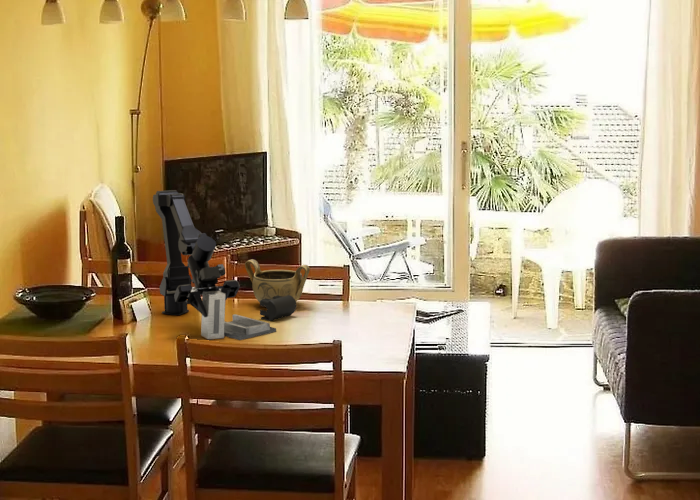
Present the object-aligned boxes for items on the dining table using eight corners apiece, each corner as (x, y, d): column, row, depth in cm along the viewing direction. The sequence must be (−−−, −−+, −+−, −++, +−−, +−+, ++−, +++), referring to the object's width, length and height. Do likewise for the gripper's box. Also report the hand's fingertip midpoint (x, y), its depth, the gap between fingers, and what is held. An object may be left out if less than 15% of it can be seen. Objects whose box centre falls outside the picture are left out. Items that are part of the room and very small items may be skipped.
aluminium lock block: (200, 335, 297) (202, 291, 296) (216, 334, 300) (218, 290, 298) (207, 339, 293) (209, 294, 291) (223, 338, 296) (225, 294, 294)
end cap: (276, 323, 314) (275, 301, 313) (258, 319, 318) (258, 298, 317) (296, 317, 322) (296, 296, 321) (279, 313, 326) (279, 293, 325)
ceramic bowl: (235, 309, 332) (234, 263, 329) (259, 298, 347) (258, 255, 344) (297, 315, 323) (297, 269, 321) (319, 304, 339) (319, 260, 336)
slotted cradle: (205, 330, 304) (205, 320, 304) (241, 322, 314) (241, 312, 314) (239, 340, 293) (239, 330, 293) (276, 331, 303) (276, 321, 303)
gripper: (176, 258, 292) (190, 303, 284) (237, 253, 301) (252, 296, 293) (168, 280, 300) (181, 324, 292) (227, 274, 309) (242, 317, 301)
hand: (214, 315), depth 294 cm, fingers closed on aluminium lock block, 5 cm apart
